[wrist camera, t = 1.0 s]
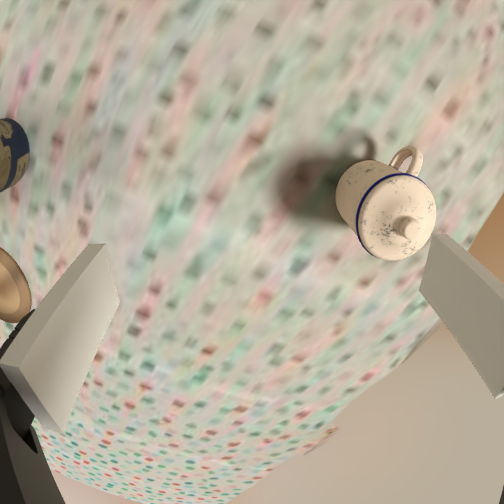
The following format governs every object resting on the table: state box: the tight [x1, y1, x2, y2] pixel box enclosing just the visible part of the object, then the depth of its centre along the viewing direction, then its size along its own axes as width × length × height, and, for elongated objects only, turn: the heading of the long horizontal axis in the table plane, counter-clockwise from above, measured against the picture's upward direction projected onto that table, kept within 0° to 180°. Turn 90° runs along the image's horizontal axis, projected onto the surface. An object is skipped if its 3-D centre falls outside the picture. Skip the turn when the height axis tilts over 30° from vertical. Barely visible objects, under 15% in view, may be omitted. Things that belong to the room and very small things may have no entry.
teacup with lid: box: [335, 146, 436, 261], centre depth 31 cm, size 12×9×12 cm
